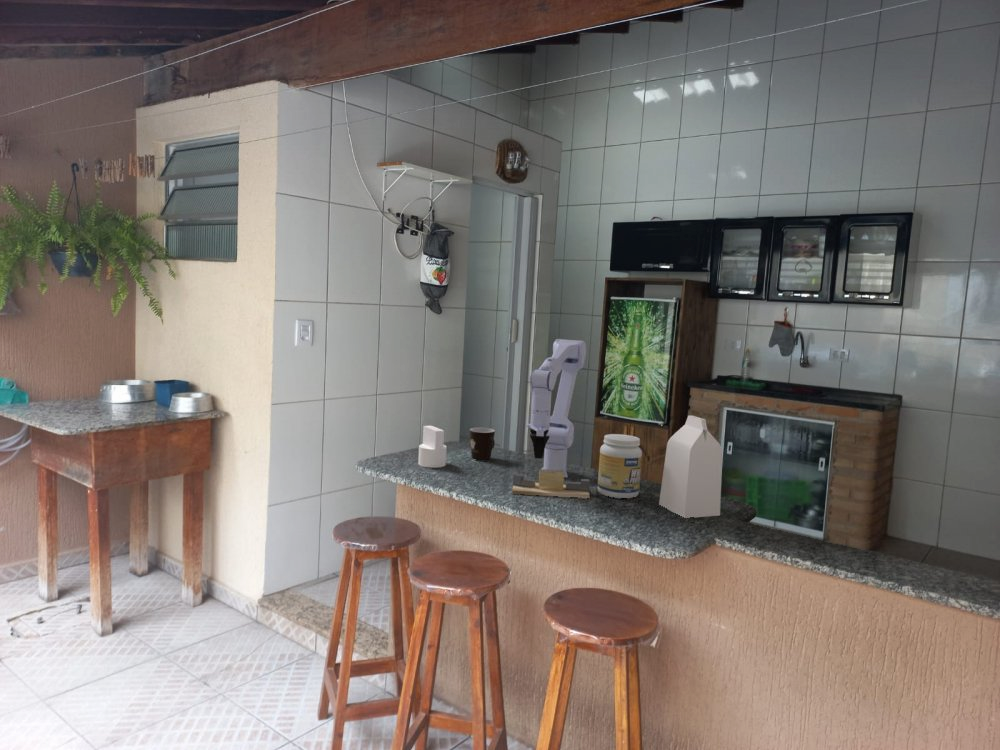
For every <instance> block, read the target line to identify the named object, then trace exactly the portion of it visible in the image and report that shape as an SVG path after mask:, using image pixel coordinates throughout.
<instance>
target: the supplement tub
mask: <svg viewBox="0 0 1000 750" xmlns="http://www.w3.org/2000/svg"><path fill="white" fill-rule="evenodd" d="M603 437H604V438H603V444H601V446H600V449H599V460H598V461H599V463H598V476H597V491H598V492H599V494H601V495H603V496H605V497H608V496H609V497H610V498H613V497H614V498H613V499H621V498H627V499H633V497H634V498H635V497H638V496H639V492H640V483H641V473H642V472H641V471H642V458H643V450H642V448H641V447H639V446H640V445H641V439H640V438H639V437H637V436H634V435H631V434H629V435H628V434H619V433H610V434H605V435H604V436H603Z"/></svg>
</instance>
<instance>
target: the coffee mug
mask: <svg viewBox="0 0 1000 750" xmlns="http://www.w3.org/2000/svg"><path fill="white" fill-rule="evenodd" d="M495 432H496V431H495V429H493V428H489V427H473V428H470V429H469V435H470V439H469V440H470V449H471V459H472V458H473V459H476V460H475V461H478V460H487V461H490V460H491V458H492V457H491V456H492V451H493V450H494V447H495V439H494V437H495ZM473 459H472V460H473ZM489 459H490V460H489Z"/></svg>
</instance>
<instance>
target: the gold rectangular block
mask: <svg viewBox="0 0 1000 750" xmlns="http://www.w3.org/2000/svg"><path fill="white" fill-rule="evenodd" d="M538 470H539V472H538V483H539V489H542V490H559V491H563V484H564V479H565V477H564V472H563V470H548V469H542V468H539V469H538Z"/></svg>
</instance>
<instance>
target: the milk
mask: <svg viewBox="0 0 1000 750" xmlns="http://www.w3.org/2000/svg"><path fill="white" fill-rule="evenodd" d="M722 462H723V449H722V446H721V444H720V443H719V441H717V439H716V438H715V437H714V436H713V435H712V433H711V432H710V431H709V430H708V426H707V421H706V418H702V417H698V416H696V415H687V418H686V420H685V423H684V425H682V427H680V428H679V429H678V430H677V431H675V432H674V434H673V435H672V436H671V437H670V438H669V439H668V440H667V443H666V449H665V458H664V465H663V472H662V478H661V487H660V496H659V501H658V502H659V503H658V505H659V506H660V505H661V507H662V506H663V507H662V508H664V507H665V508H664V509H666V508H667V509H666V510H668V511H670V512H672V513H674V514H675V513H676V514H675V515H677V514H678V515H677V516H679V515H680V517H681V516H682V517H681V518H683V517H684V518H683V519H691V518H690V517H694V518H702V517H705V518H706V517H716V516H718V517H719V516H721V497H722V474H723V473H722V469H723V468H722V467H723V463H722Z"/></svg>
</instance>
